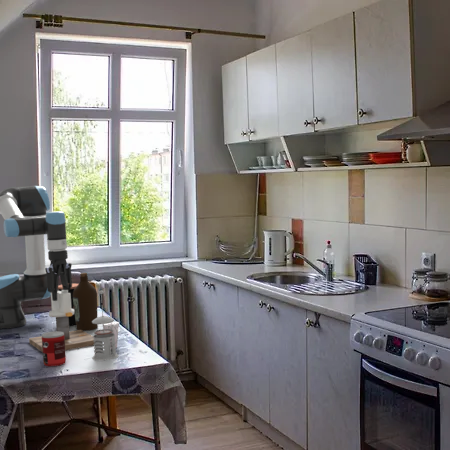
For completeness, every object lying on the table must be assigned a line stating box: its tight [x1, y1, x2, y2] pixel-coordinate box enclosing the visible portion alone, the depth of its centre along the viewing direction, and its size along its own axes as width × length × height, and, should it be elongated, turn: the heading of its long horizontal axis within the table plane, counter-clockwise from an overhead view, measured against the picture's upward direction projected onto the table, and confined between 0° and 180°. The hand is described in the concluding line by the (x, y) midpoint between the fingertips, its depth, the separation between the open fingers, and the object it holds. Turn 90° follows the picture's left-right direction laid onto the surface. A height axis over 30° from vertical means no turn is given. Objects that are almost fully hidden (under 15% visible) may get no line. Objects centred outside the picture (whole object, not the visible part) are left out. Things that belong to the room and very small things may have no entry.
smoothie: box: [104, 312, 120, 349], centre depth 255 cm, size 6×6×14 cm
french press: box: [91, 290, 119, 362], centre depth 241 cm, size 10×12×25 cm
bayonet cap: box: [48, 290, 75, 318], centre depth 264 cm, size 12×10×9 cm
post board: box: [28, 316, 95, 353], centre depth 265 cm, size 22×22×12 cm
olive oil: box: [73, 272, 99, 332], centre depth 290 cm, size 11×11×25 cm
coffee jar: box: [58, 283, 79, 327], centre depth 302 cm, size 11×11×18 cm
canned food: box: [41, 330, 67, 367], centre depth 236 cm, size 8×8×11 cm
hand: (61, 306), depth 264 cm, fingers closed on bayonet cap, 5 cm apart
